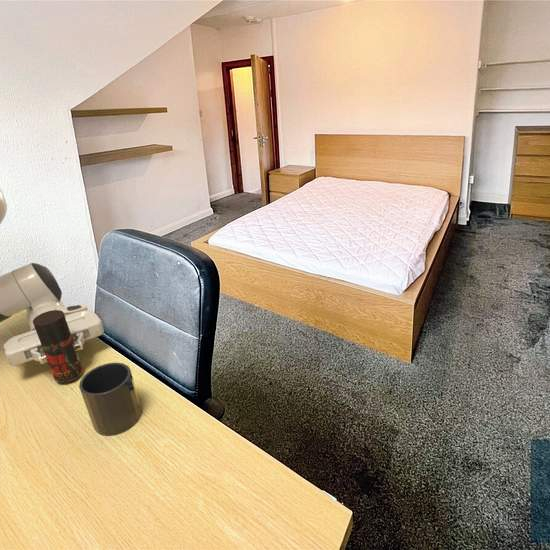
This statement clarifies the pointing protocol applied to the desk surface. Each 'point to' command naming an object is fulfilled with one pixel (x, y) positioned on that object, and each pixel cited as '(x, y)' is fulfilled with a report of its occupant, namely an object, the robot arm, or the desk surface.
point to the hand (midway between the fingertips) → (62, 354)
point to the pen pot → (111, 398)
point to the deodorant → (58, 345)
